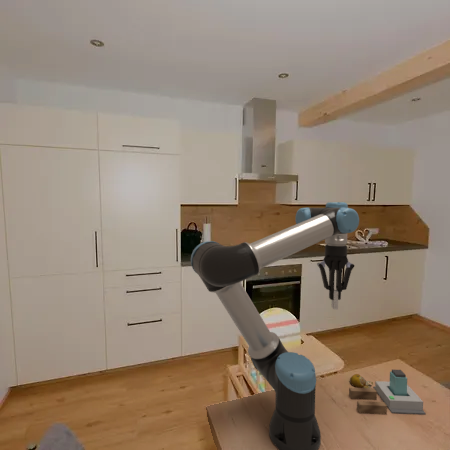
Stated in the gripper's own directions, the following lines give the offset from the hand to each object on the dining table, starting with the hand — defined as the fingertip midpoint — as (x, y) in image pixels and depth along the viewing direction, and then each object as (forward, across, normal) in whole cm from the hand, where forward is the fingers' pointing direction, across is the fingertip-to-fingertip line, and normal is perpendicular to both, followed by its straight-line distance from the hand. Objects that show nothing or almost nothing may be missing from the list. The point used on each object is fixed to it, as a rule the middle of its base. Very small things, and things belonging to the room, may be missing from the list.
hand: (334, 308), depth 107 cm
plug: (+32, +22, -3) cm, 39 cm away
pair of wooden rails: (+32, +10, -6) cm, 34 cm away
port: (+32, +22, -3) cm, 39 cm away
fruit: (+33, +13, +5) cm, 36 cm away
